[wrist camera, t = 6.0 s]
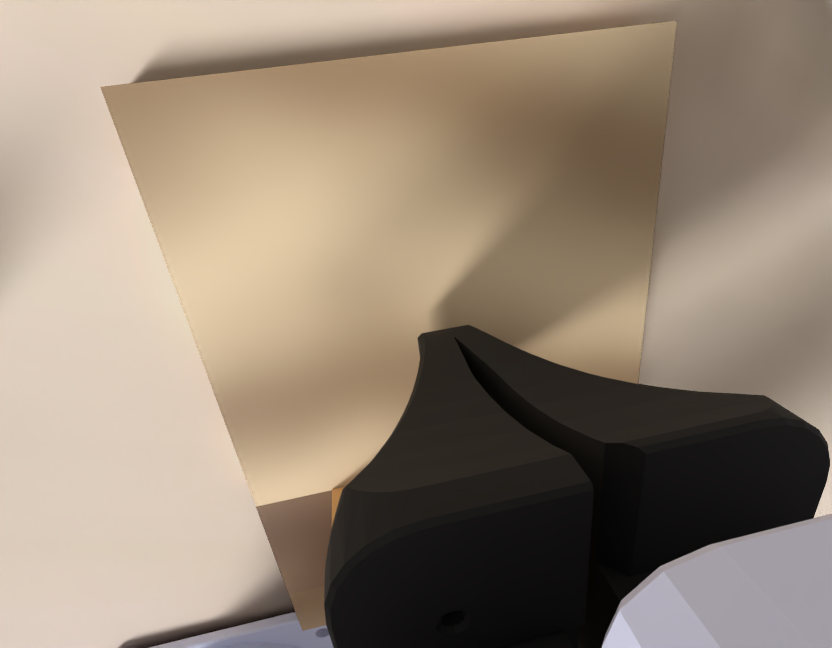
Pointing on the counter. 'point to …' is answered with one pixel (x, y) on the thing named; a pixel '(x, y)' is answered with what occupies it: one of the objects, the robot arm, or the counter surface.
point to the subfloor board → (396, 237)
